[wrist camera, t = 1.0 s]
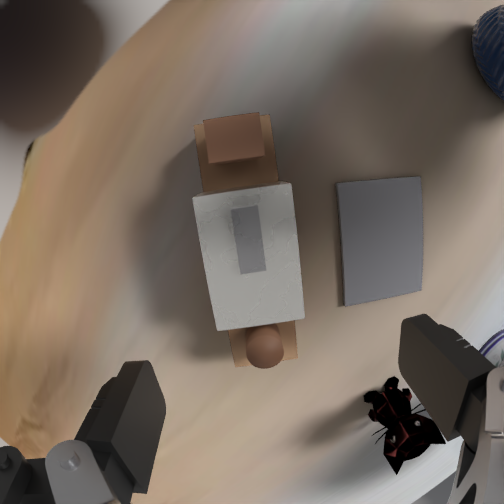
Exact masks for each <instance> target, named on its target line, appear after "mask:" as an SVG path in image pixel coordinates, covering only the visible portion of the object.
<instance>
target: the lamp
mask: <svg viewBox="0 0 504 504" xmlns="http://www.w3.org/2000/svg"><path fill="white" fill-rule="evenodd" d="M472 32H473V35H472V36H471V37H472V39H473V41H472V42H471V43H472V45H473V47H472V50H473V51H474V53H473V56H474V57H475V62H476V64H477V67H478V69H479V71H480V74H481V75H482V77H483V78H484V80H485V82H486V83H487V84H488V86H489V87H490V89H491V90H492V91H493V92H494V93H495V94H496V95H497V96H498V97H499V98H501V99H502V100H503V101H504V5H500V6H498V7H495V8H493V9H491V10H489V11H487V12H486V13H484V14H483V15H482V16H481V17H480V18H479V19H478V20H477V21H476V24H475V25H474V30H473V31H472Z"/></svg>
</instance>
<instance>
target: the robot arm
mask: <svg viewBox="0 0 504 504" xmlns="http://www.w3.org/2000/svg"><path fill="white" fill-rule="evenodd" d="M398 363H399V369H400V372H401V375H402V376H403V378H404V379H405V381H406V382H407V384H408V385H409V386H410V388H411V389H412V391H413V392H414V393H415V395H416V396H417V398H418V399H419V400H420V402H421V403H422V405H423V406H424V408H425V409H426V410H427V412H428V413H429V415H430V416H431V418H432V419H433V421H434V422H435V424H436V425H437V426H438V428H439V429H440V431H441V432H442V434H443V435H444V437H445V438H446V440H447V441H450V440H452V439H454V438H457V437H459V436H462V438H463V439H464V441H463V443H462V446H461V450H460V456H459V461H458V466H457V471H456V475H455V479H454V484H453V488H452V491H451V495H450V498H449V500H448V503H447V504H504V366H500V367H496V366H494V365H493V364H492V363H491V362H490V361H489V360H488V359H487V358H486V357H485V356H483V355H482V354H481V353H480V352H479V351H478V350H477V349H476V348H474V347H473V346H471V345H470V343H469V342H468V341H466V340H465V339H464V340H463V337H462V336H461V335H459V334H458V333H457V332H456V331H455V330H454V329H451V328H449V327H446V326H444V325H442V324H439V325H438V324H437V323H436V322H435V321H434V320H433V319H431V318H430V317H429V316H428V315H427V314H421V315H417V316H414V317H410V318H406V319H404V320H403V321H402V325H401V336H400V347H399V357H398ZM165 415H166V404H165V399H164V396H163V394H162V391H161V389H160V386H159V383H158V381H157V378H156V376H155V373H154V370H153V367H152V365H151V363H150V362H149V361H148V360H145V361H128V362H125V363H124V364H123V366H122V368H121V370H120V372H119V373H118V375H117V377H112V378H111V379H110V380H109V381H108V382H107V383H106V384H104V385H103V386H102V387H101V389H100V391H99V393H98V395H97V397H96V400H94V402H93V404H92V406H91V409H90V410H89V412H88V413H87V415H86V417H85V419H84V421H83V423H82V425H81V427H80V429H79V431H78V433H77V435H76V437H75V439H74V440H67V441H64V442H61V443H59V444H57V445H55V446H54V447H53V448H52V449H51V450H50V451H49V453H48V454H47V456H46V458H39V459H25V457H24V456H23V455H22V454H21V452H20V451H19V450H18V449H17V448H15V447H13V446H4V447H0V504H132V502H131V497H132V493H144V494H147V491H148V486H149V482H150V477H151V473H152V469H153V464H154V460H155V456H156V452H157V448H158V444H159V439H160V435H161V431H162V427H163V423H164V419H165Z"/></svg>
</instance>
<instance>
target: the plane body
mask: <svg viewBox="0 0 504 504" xmlns="http://www.w3.org/2000/svg"><path fill="white" fill-rule="evenodd" d="M194 131H195V138H196V145H197V152H198V159H199V166H200V173H201V179H202V186H203V192H208V191H214V190H221V189H227V188H234V187H241V186H248V185H255V184H263V183H270V182H278V181H279V178H278V171H277V163H276V156H275V149H274V142H273V135H272V128H271V121H270V114H269V115H259V112H257V113H249V114H241V115H234V116H227V117H220V118H214V119H208V120H203V124H198V125H194ZM228 333H229V338H230V343H231V348H232V353H233V358H234V363H235V367H241V366H249V365H253V366H255V367H258V368H271V367H273V366H275V365H277V364H278V363H279V362H280V361H283V360H290V359H296V358H298V354H297V343H296V331H295V321H294V320H292V321H286V322H280V323H273V324H266V325H260V326H252V327H245V328H238V329H230V330H228Z"/></svg>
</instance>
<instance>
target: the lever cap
mask: <svg viewBox="0 0 504 504" xmlns="http://www.w3.org/2000/svg"><path fill="white" fill-rule="evenodd" d="M192 200H193V206H194V212H195V218H196V224H197V229H198V235H199V241H200V246H201V252H202V257H203V263H204V268H205V273H206V278H207V284H208V289H209V294H210V299H211V304H212V309H213V314H214V318H215V323H216V328H217V331H222V330H230V329H238V328H245V327H252V326H260V325H266V324H273V323H280V322H286V321H292V320H298V319H304V318H305V313H304V300H303V289H302V278H301V267H300V257H299V247H298V238H297V228H296V219H295V210H294V202H293V194H292V186H291V183H288V182H284V181H278V182H270V183H263V184H255V185H248V186H241V187H234V188H227V189H221V190H214V191H208V192H202V193H199V194H197V195H196V196H194V197H192Z"/></svg>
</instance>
